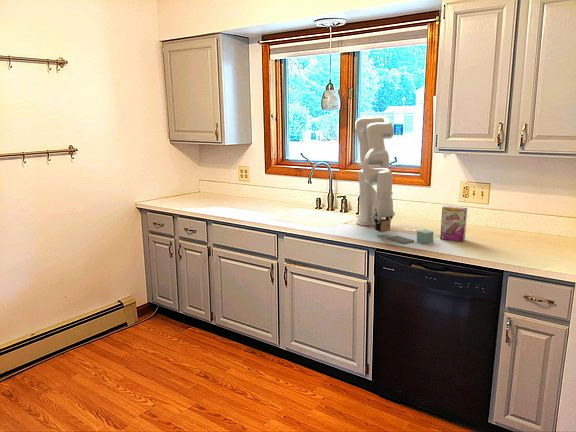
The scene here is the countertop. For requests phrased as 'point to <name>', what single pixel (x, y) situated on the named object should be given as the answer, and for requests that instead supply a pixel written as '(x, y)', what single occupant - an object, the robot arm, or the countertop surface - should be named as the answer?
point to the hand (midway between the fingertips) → (382, 229)
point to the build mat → (400, 239)
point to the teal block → (425, 236)
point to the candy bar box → (453, 223)
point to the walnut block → (384, 225)
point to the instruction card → (410, 229)
